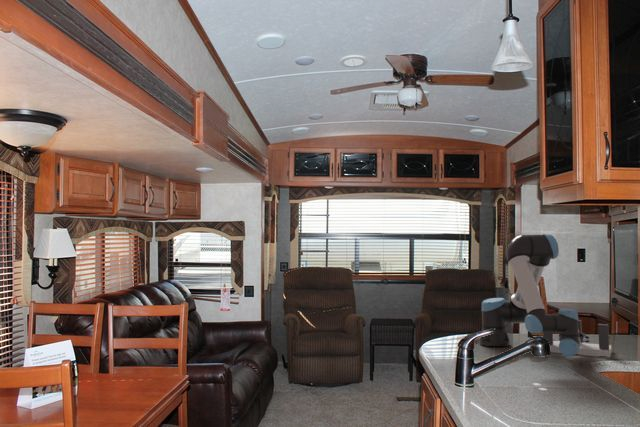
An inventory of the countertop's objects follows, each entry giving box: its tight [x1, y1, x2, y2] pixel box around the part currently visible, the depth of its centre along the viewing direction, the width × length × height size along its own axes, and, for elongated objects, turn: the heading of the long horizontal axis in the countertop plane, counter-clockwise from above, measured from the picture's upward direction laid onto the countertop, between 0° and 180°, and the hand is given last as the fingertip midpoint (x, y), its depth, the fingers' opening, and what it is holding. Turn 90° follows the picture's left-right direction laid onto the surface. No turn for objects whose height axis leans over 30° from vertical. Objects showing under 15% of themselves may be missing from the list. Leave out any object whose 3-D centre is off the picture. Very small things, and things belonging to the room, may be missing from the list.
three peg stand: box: [543, 323, 613, 358], centre depth 259 cm, size 13×29×14 cm, turn 60°
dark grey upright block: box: [578, 319, 583, 333], centre depth 262 cm, size 2×4×11 cm, turn 60°
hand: (577, 332), depth 261 cm, fingers closed
